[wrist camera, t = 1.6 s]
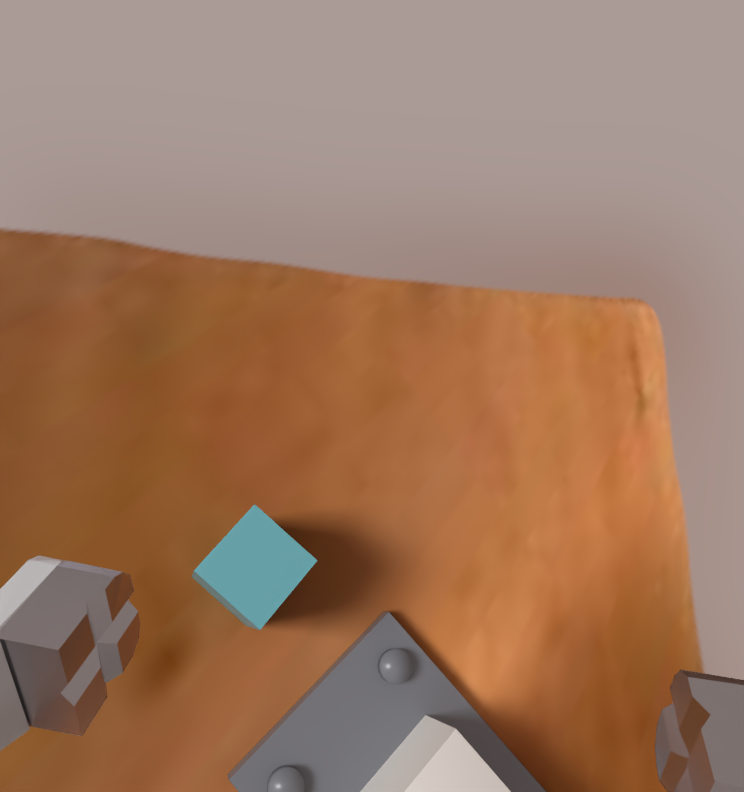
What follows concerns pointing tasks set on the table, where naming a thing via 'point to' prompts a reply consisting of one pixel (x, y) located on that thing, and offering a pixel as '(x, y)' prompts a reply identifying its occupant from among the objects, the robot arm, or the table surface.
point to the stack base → (382, 730)
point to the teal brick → (254, 568)
